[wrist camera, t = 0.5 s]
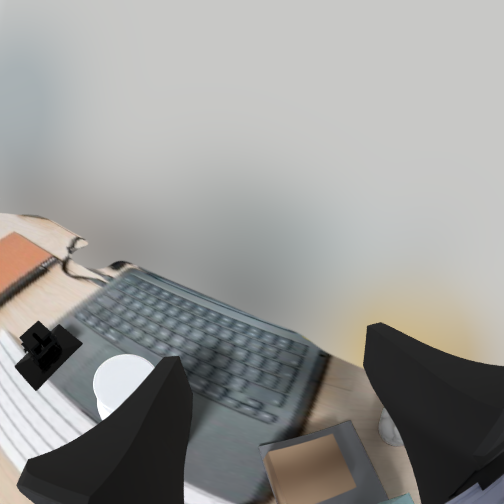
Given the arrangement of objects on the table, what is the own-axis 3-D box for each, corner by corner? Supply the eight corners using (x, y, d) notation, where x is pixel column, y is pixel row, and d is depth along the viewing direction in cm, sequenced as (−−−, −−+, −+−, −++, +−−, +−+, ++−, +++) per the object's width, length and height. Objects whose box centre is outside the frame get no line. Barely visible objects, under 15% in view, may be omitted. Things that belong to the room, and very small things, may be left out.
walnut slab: (343, 492, 17) (356, 486, 15) (281, 513, 15) (289, 511, 14) (322, 443, 22) (332, 433, 20) (263, 459, 20) (268, 451, 18)
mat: (403, 535, 11) (405, 535, 11) (307, 581, 9) (308, 581, 8) (348, 421, 24) (350, 420, 24) (258, 447, 21) (258, 446, 21)
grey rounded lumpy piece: (370, 467, 19) (408, 443, 15) (362, 411, 25) (391, 378, 21) (417, 456, 19) (457, 430, 16) (405, 406, 25) (437, 374, 21)
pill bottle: (150, 398, 24) (127, 330, 18) (199, 432, 22) (192, 376, 16) (112, 436, 20) (66, 380, 14) (161, 476, 17) (129, 442, 11)
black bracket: (34, 406, 20) (14, 384, 17) (6, 371, 21) (-12, 348, 19) (95, 341, 30) (85, 316, 27) (63, 317, 31) (52, 293, 29)
